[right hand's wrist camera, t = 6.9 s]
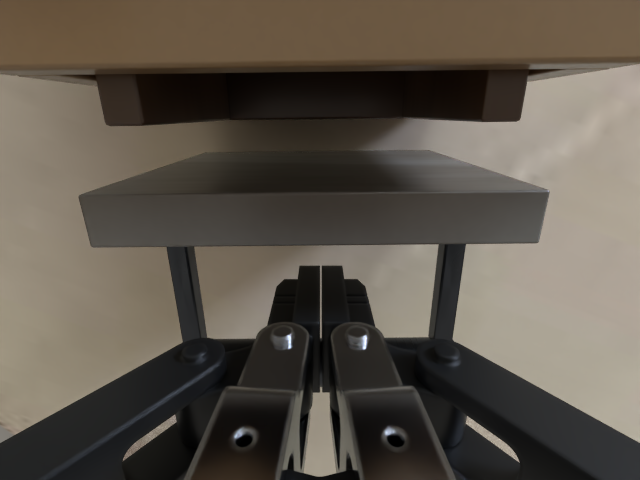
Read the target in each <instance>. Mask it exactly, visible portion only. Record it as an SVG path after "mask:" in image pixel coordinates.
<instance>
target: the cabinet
mask: <svg viewBox="0 0 640 480" xmlns="http://www.w3.org/2000/svg"><path fill="white" fill-rule="evenodd" d="M636 64H640V0H0V74H5V75H17V76H20V77H28V78H36V79H44V80H52V81H60V82H68V83H76V84H84V85H92V86H98V85H97V81H96V76H95V74H173V73H256V72H339V71H421V70H504V69H529V73H528V79H527V82H529V81H536V80H542V79H549V78H555V77H561V76H568V75H574V74H581V73H587V72H593V71H600V70H606V69H610V68H617V67H623V66H629V65H636Z"/></svg>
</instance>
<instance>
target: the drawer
mask: <svg viewBox="0 0 640 480" xmlns="http://www.w3.org/2000/svg"><path fill="white" fill-rule="evenodd" d="M528 73H529V69H504V70H421V71H339V72H256V73H173V74H95V76H96V81H97V85H98V90H99V95H100V100H101V104H102V109H103V114H104V119H105V123H106V125H109V126H146V125H162V124H177V123H193V122H208V121H223V120H282V119H370V118H411V119H432V120H453V121H474V122H517V121H519V120H520V118H521V113H522V107H523V101H524V96H525V90H526V84H527V79H528ZM548 197H549V190H547V189H544V188H541V187H538V186H535V185H532V184H529V183H526V182H523V181H520V180H517V179H514V178H511V177H508V176H505V175H502V174H499V173H496V172H493V171H490V170H487V169H484V168H481V167H478V166H475V165H472V164H469V163H466V162H463V161H460V160H457V159H454V158H451V157H448V156H445V155H442V154H439V153H436V152H433V151H430V150H399V151H307V152H215V153H203V154H200V155H197V156H194V157H191V158H188V159H185V160H182V161H179V162H176V163H173V164H170V165H167V166H164V167H161V168H158V169H155V170H152V171H149V172H146V173H143V174H140V175H137V176H134V177H131V178H128V179H125V180H122V181H119V182H116V183H113V184H110V185H108V186H105V187H102V188H99V189H96V190H93V191H90V192H87V193H84V194H81V195H79V201H80V205H81V208H82V212H83V216H84V220H85V224H86V228H87V232H88V236H89V240H90V244H91V246H92V247H167V252H168V258H169V264H170V270H171V276H172V281H173V287H174V293H175V299H176V304H177V310H178V316H179V322H180V327H181V333H182V339H183V342H186V341H189V340H192V339H197V338H207V334H206V327H205V320H204V313H203V306H202V299H201V292H200V285H199V278H198V271H197V264H196V258H195V251H194V246H293V245H399V244H439V247H438V256H437V265H436V274H435V282H434V291H433V300H432V309H431V318H430V326H429V335H428V336H429V337H420V338H384V339H385V341H386V342H387V343H389V344H391V345H393V346H395V347H398V348H402V349H406V350H411V351H415V352H416V351H417V347H418V346H419V344H421V343H422V342H424V341H426V340H429V339H446V340H450V341H453V340H452V338H453V331H454V324H455V317H456V310H457V303H458V295H459V288H460V281H461V274H462V267H463V260H464V253H465V246H466V244H505V243H538V242H539V238H540V234H541V229H542V224H543V220H544V215H545V211H546V206H547V202H548ZM215 340H217V341H219V342H220V343H222V345H223V346H224V348H225V352H228V351H232V350H237V349H241V348H245V347H247V346H250V345H252V344H254V341H255V339H215ZM453 342H454V341H453ZM320 387H322V338H320Z"/></svg>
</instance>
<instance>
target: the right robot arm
mask: <svg viewBox="0 0 640 480" xmlns="http://www.w3.org/2000/svg"><path fill="white" fill-rule="evenodd" d="M313 392H320V266H299V274H298V279H284V280H283V281H282V282H281V283H280V284H279V285H278V286H277V288H276V292H275V297H274V300H273V304H272V308H271V313H270V317H269V321H268V325H267V326H266V327H264V328H263V329H262V330H261V331H260V332H259V333H258V334H257V336H256V339H255V341H254V344H252V345H250V346H247V347H245V348H241V349H237V350H232V351H228V352H225V348H224V346H223V345H222V343H220V342H219V341H217V340H215V339H211V338H197V339H192V340H189V341H186V342H183V343H181V344H179V345H178V346H176V347H174V348H172V349H170V350H169V351H167V352H165V353H163V354H161V355H159V356H158V357H156V358H154V359H152V360H150V361H149V362H147V363H145V364H143V365H141V366H139V367H138V368H136V369H134V370H132V371H130V372H129V373H127V374H125V375H123V376H121V377H120V378H118V379H116V380H114V381H112V382H110V383H109V384H107V385H105V386H103V387H101V388H100V389H98V390H96V391H94V392H92V393H90V394H89V395H87V396H85V397H83V398H81V399H80V400H78V401H76V402H74V403H72V404H70V405H69V406H67V407H65V408H63V409H61V410H60V411H58V412H56V413H54V414H52V415H51V416H49V417H47V418H45V419H43V420H41V421H40V422H38V423H36V424H34V425H32V426H31V427H29V428H27V429H25V430H23V431H21V432H20V433H18V434H16V435H14V436H12V437H11V438H9V439H7V440H5V441H3V442H2V443H0V480H640V443H638V442H637V441H635V440H633V439H631V438H629V437H628V436H626V435H624V434H622V433H620V432H619V431H617V430H615V429H613V428H611V427H609V426H608V425H606V424H604V423H602V422H600V421H599V420H597V419H595V418H593V417H591V416H589V415H588V414H586V413H584V412H582V411H580V410H579V409H577V408H575V407H573V406H571V405H570V404H568V403H566V402H564V401H562V400H560V399H559V398H557V397H555V396H553V395H551V394H550V393H548V392H546V391H544V390H542V389H540V388H539V387H537V386H535V385H533V384H531V383H530V382H528V381H526V380H524V379H522V378H521V377H519V376H517V375H515V374H513V373H511V372H510V371H508V370H506V369H504V368H502V367H501V366H499V365H497V364H495V363H493V362H491V361H490V360H488V359H486V358H484V357H482V356H481V355H479V354H477V353H475V352H473V351H472V350H470V349H468V348H466V347H464V346H462V345H460V344H458V343H456V342H453V341H450V340H446V339H429V340H426V341H424V342H422V343H421V344H419V346H418V347H417V351H416V352H415V351H411V350H406V349H402V348H398V347H395V346H393V345H391V344H389V343H387V342H386V341H385V339H384V336H383V334H382V333H381V332H380V331H379V330H378V329H377V328H376V327H375V324H374V320H373V316H372V312H371V308H370V304H369V300H368V297H367V292H366V288H365V286H364V285H363V284H362V283H361V282H360V281H359V280H358V279H344V275H343V268H342V266H322V392H330V423H331V432H332V440H333V448H334V457H335V465H336V474H332V475H328V476H324V477H316V476H312V475H308V474H304V465H305V456H306V448H307V440H308V432H309V423H310V409H311V406H312V399H313ZM174 414H175V415H176V420H177V422H176V423H175V424H174V425H172V426H171V427H169V428H168V429H167V430H165V431H164V432H163V433H161V434H160V435H158V436H157V437H156V438H154V439H153V440H151V441H150V442H149V443H147V444H146V445H145V446H143V447H142V448H140V449H139V450H138V451H136V452H135V453H134V454H132V455H131V456H129V457H128V458H127V459H125V460H124V461H123V458H124V455H125V454H126V452H127V451H128V449H129V448H130V447H131V446H132V445H133V444H134V443H135V442H136V441H138V440H139V439H140V438H142V437H143V436H145V435H146V434H147V433H149V432H150V431H152V430H153V429H155V428H156V427H157V426H159V425H160V424H162V423H163V422H165V421H166V420H167V419H169V418H170V417H172V416H173V415H174ZM467 416H468V417H470V418H471V419H473V420H474V421H476V422H477V423H478V424H480V425H481V426H483V427H484V428H485V429H487V430H488V431H490V432H491V433H493V434H494V435H495V436H497V437H498V438H500V439H501V440H502V441H504V442H505V443H506V444H508V445H509V446H510V447H511V448H512V449H513V451H514V452H515V453H516V455H517V457H518V459H519V462H520V463H519V462H517V461H516V460H515V459H513V458H512V457H511V456H509V455H508V454H506V453H505V452H504V451H502V450H501V449H500V448H498V447H497V446H495V445H494V444H493V443H491V442H490V441H489V440H487V439H486V438H484V437H483V436H482V435H480V434H479V433H478V432H476V431H475V430H473V429H472V428H471V427H469V426H468V425H466V424H465V423H466V418H467ZM122 461H123V462H122Z"/></svg>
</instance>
